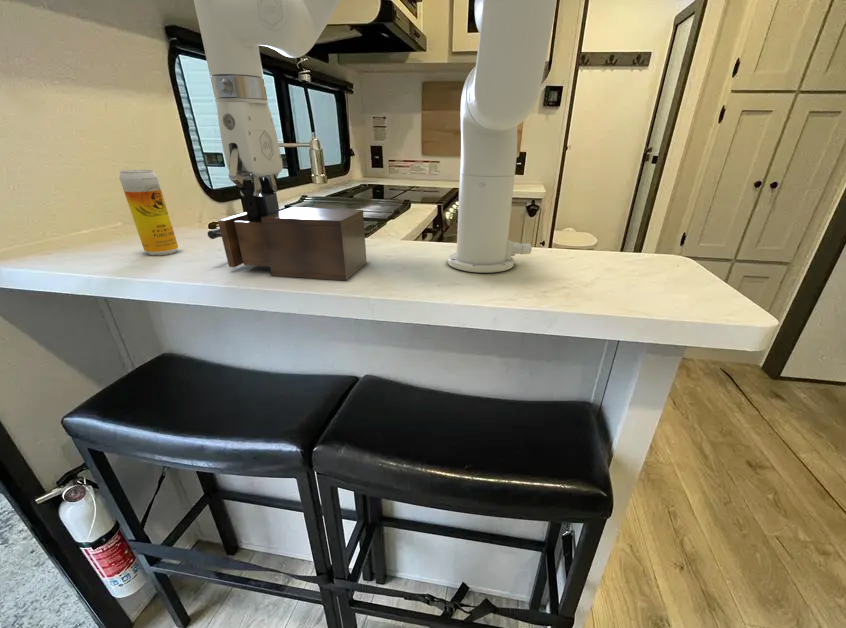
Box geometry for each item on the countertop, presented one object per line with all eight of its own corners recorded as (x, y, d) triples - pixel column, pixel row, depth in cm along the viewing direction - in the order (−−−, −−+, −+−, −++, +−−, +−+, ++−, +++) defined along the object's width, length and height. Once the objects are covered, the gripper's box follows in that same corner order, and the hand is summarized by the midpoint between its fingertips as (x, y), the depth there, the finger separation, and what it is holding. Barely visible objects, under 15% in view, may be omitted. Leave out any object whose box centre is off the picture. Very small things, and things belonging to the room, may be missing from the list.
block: (260, 217, 75) (255, 193, 73) (280, 218, 74) (276, 193, 72) (248, 221, 72) (242, 196, 69) (269, 222, 71) (264, 196, 69)
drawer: (207, 265, 74) (194, 219, 70) (239, 251, 82) (230, 210, 78) (295, 271, 71) (287, 223, 67) (318, 256, 80) (313, 213, 76)
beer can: (164, 257, 82) (137, 172, 74) (138, 255, 83) (108, 171, 75) (186, 249, 87) (162, 169, 79) (161, 248, 88) (135, 169, 80)
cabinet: (271, 275, 72) (260, 217, 67) (300, 259, 82) (292, 206, 77) (346, 280, 70) (340, 220, 65) (366, 263, 80) (363, 209, 75)
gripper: (231, 87, 56) (260, 229, 65) (288, 96, 70) (305, 212, 79) (181, 87, 57) (216, 227, 66) (247, 97, 71) (268, 211, 81)
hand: (264, 218), depth 73 cm, fingers closed on block, 4 cm apart
